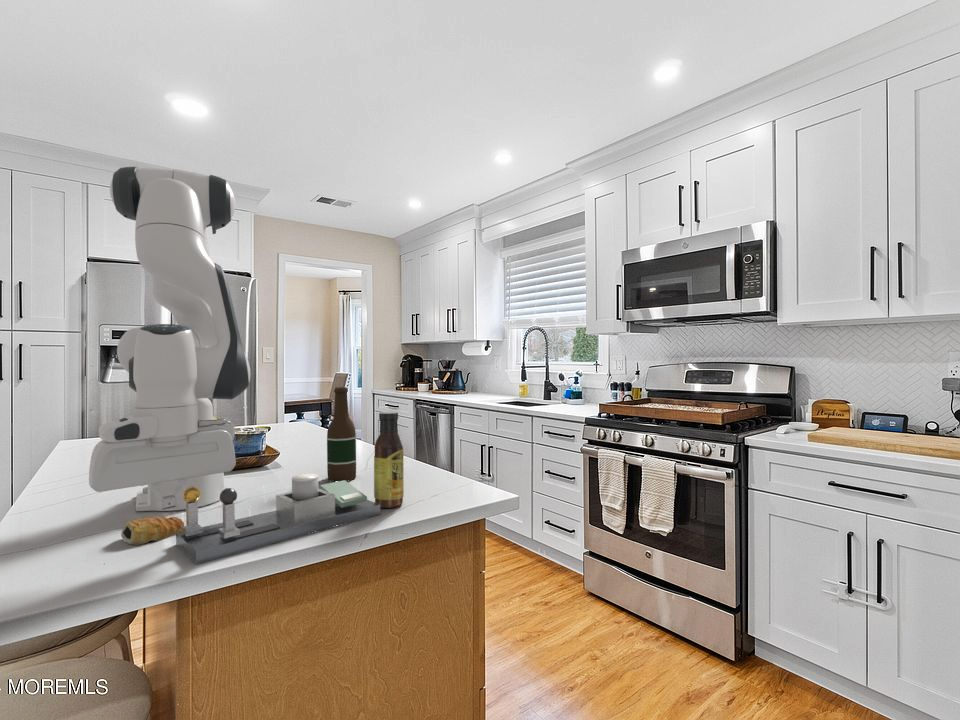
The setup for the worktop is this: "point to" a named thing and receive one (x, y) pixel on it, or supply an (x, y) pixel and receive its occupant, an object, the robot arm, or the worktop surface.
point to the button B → (305, 486)
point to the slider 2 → (228, 513)
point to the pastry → (150, 529)
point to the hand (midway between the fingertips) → (168, 507)
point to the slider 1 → (192, 512)
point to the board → (274, 526)
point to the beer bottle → (341, 441)
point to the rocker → (344, 493)
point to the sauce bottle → (388, 463)
